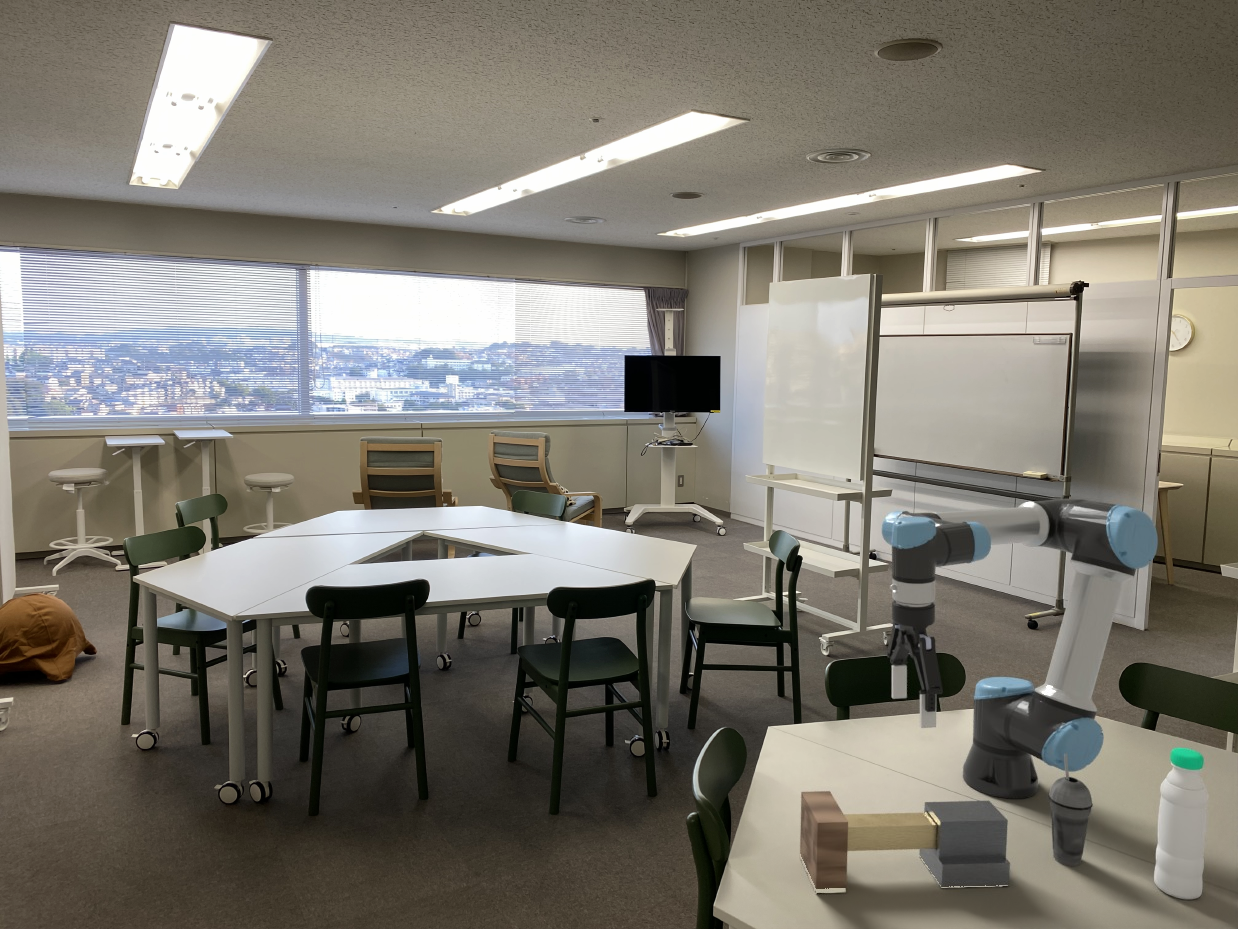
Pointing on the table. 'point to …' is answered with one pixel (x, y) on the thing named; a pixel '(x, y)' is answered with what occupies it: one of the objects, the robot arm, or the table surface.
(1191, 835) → the water bottle
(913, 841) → the rail
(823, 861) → the socket block
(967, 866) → the sleeve
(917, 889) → the table surface
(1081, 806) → the beverage cup
